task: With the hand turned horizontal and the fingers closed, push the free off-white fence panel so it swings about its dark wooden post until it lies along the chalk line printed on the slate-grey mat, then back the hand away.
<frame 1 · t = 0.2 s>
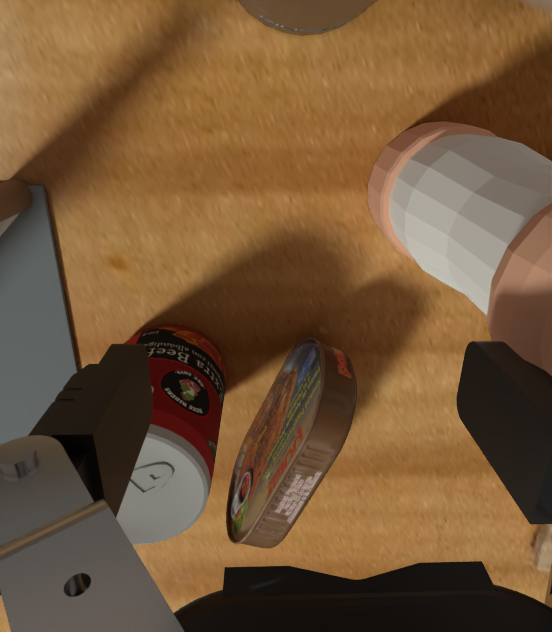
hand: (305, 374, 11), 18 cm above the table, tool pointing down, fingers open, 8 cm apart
canned food: (172, 368, 32), on the table
tin: (283, 404, 34), on the table
salt shaker: (428, 187, 27), on the table
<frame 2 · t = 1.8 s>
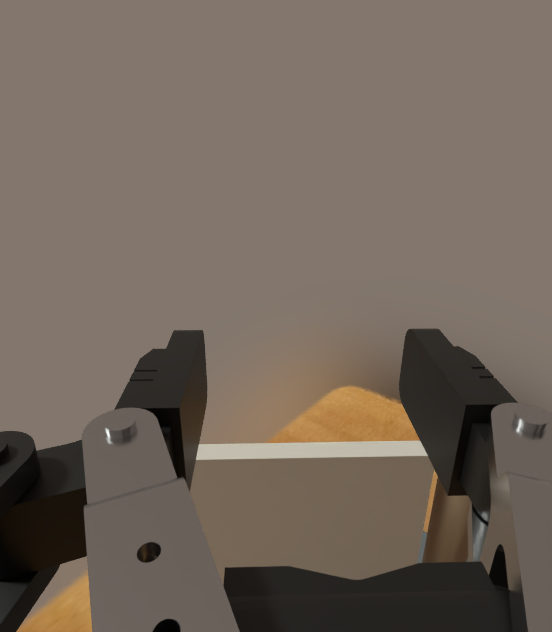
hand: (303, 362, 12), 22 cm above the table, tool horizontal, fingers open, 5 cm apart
fence panel: (273, 559, 23), point 8 cm above the table, hinge at 0.0°
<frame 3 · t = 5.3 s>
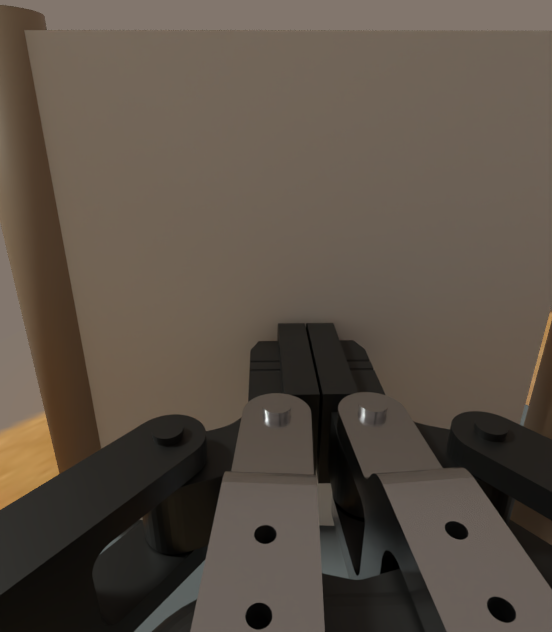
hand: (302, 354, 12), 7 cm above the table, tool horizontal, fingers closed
fence fixed: (529, 532, 16), resting on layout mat
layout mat: (461, 548, 15), on the table
fence panel: (277, 319, 13), point 8 cm above the table, hinge at 3.0°, touching gripper
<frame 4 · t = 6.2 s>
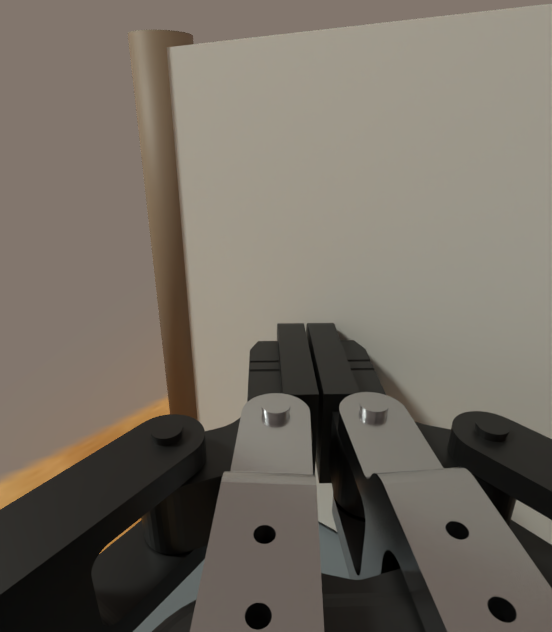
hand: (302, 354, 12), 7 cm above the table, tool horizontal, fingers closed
fence panel: (337, 317, 13), point 8 cm above the table, hinge at 37.0°, touching gripper
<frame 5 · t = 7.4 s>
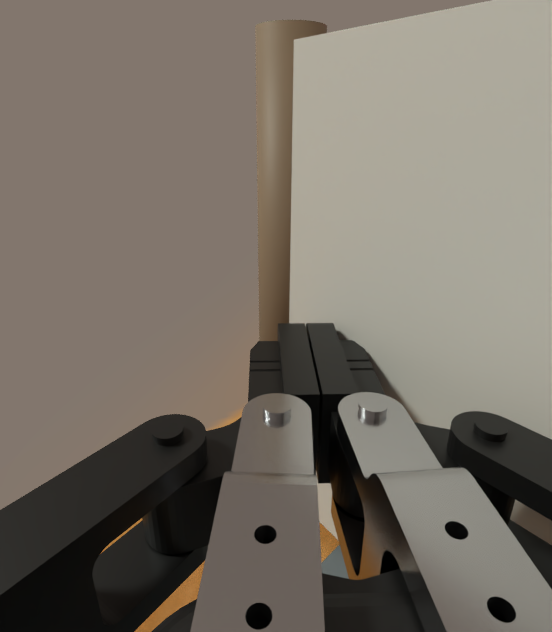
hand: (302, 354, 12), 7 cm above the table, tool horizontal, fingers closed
fence panel: (461, 374, 10), point 8 cm above the table, hinge at 54.7°, touching gripper
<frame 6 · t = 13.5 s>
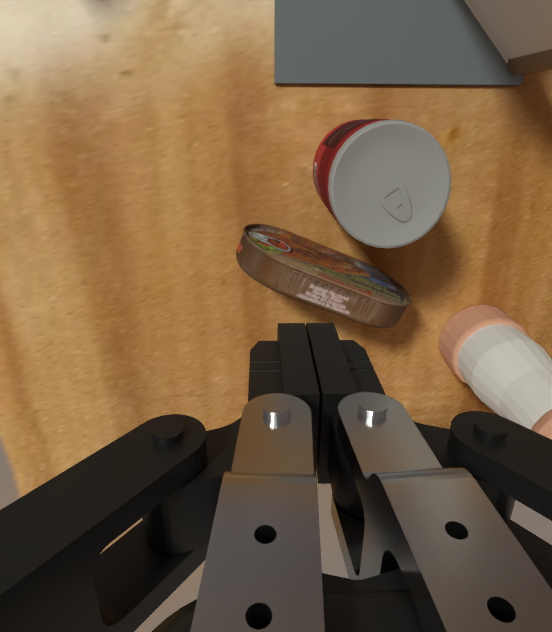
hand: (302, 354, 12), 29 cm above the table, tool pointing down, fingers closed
canned food: (356, 169, 39), on the table
tin: (317, 260, 42), on the table
salt shaker: (474, 337, 45), on the table
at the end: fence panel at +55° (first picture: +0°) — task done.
